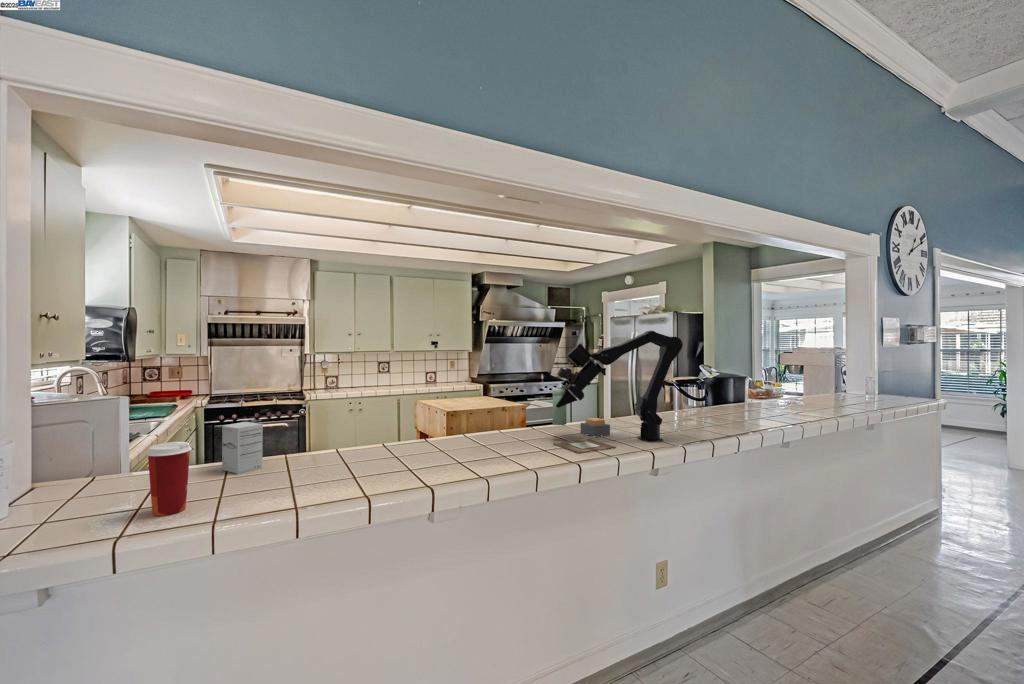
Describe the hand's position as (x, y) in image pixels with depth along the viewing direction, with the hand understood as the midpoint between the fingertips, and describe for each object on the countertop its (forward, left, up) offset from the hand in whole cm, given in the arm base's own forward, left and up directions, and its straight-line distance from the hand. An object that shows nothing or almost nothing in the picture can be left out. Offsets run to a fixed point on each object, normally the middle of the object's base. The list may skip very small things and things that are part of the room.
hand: (555, 405), depth 164 cm
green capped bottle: (-1, +1, -7) cm, 7 cm away
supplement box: (+99, -9, -13) cm, 100 cm away
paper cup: (+111, +19, -13) cm, 113 cm away
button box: (-19, -1, -12) cm, 23 cm away
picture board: (-3, +13, -12) cm, 18 cm away
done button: (-19, -1, -9) cm, 21 cm away
